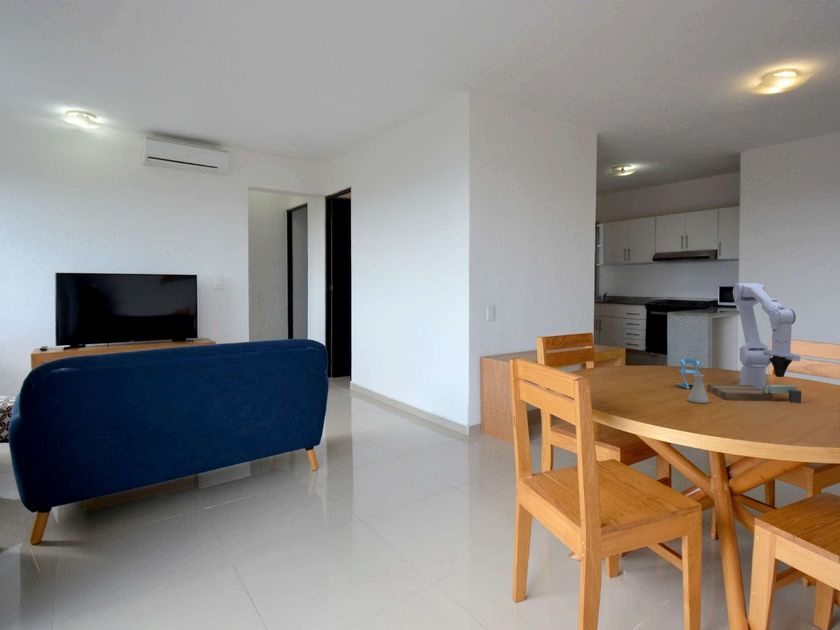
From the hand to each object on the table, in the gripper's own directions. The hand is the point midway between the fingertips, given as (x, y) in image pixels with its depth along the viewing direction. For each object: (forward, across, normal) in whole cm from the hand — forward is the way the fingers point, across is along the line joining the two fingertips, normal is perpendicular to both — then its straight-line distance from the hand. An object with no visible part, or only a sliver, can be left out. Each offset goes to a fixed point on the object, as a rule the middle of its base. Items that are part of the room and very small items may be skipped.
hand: (779, 376), depth 182 cm
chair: (+8, -21, -22) cm, 31 cm away
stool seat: (+8, -5, -13) cm, 16 cm away
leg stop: (+8, +8, -1) cm, 11 cm away
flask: (+8, +1, -34) cm, 35 cm away
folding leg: (+5, +4, -4) cm, 7 cm away
